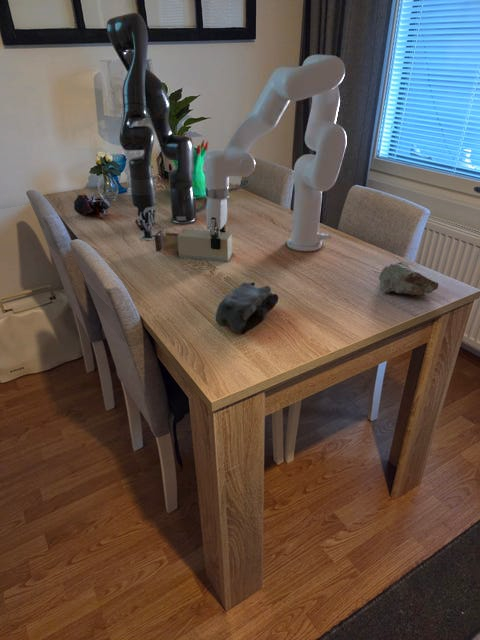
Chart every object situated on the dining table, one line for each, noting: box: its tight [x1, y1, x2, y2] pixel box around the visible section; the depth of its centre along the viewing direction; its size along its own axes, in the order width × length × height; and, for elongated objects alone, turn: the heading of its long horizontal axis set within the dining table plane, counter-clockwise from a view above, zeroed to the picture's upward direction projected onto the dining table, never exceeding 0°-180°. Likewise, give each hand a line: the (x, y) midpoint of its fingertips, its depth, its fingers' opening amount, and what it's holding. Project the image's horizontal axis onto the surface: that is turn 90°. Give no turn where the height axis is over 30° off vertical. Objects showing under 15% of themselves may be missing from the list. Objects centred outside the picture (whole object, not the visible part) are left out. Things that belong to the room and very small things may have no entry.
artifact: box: [378, 261, 439, 296], centre depth 132 cm, size 18×7×15 cm
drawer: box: [139, 230, 180, 253], centre depth 155 cm, size 22×5×6 cm, turn 77°
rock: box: [215, 281, 279, 335], centre depth 115 cm, size 18×11×8 cm, turn 152°
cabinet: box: [177, 228, 233, 262], centre depth 153 cm, size 18×6×8 cm, turn 77°
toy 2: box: [168, 137, 209, 200], centre depth 210 cm, size 20×20×25 cm
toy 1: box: [73, 194, 111, 220], centre depth 187 cm, size 12×9×15 cm
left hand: (148, 240), depth 156 cm, fingers closed
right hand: (218, 244), depth 151 cm, fingers closed on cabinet, 6 cm apart
